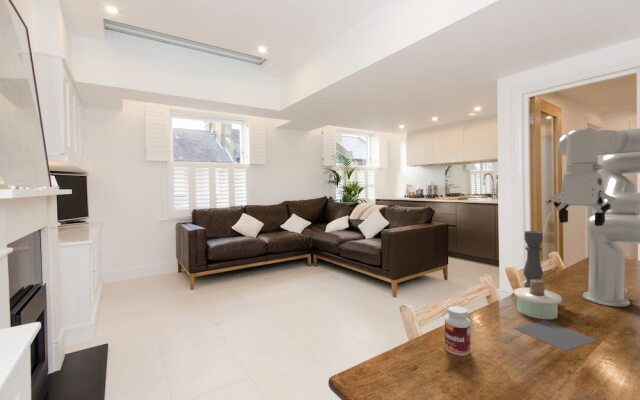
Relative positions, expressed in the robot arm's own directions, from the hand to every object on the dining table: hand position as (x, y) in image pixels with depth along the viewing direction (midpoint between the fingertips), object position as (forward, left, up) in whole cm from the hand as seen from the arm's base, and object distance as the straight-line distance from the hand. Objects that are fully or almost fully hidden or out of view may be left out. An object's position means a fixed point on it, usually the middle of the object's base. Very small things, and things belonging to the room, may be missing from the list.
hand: (580, 223), depth 99 cm
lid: (+8, -8, -25) cm, 27 cm away
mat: (+19, +4, -30) cm, 36 cm away
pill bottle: (+50, -1, -31) cm, 59 cm away
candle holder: (-5, -18, -31) cm, 36 cm away
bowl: (+8, -8, -30) cm, 32 cm away
